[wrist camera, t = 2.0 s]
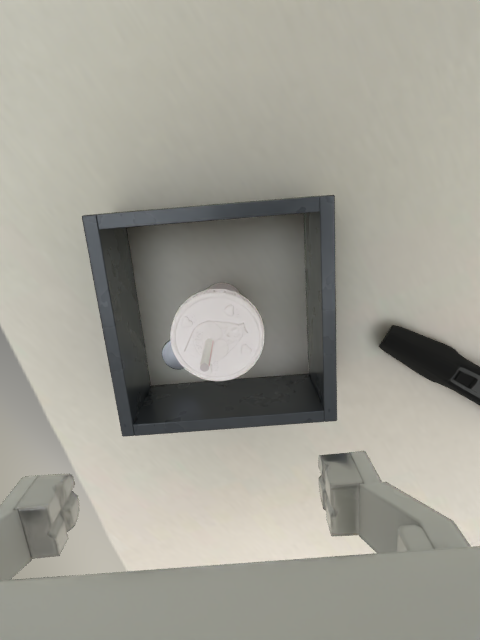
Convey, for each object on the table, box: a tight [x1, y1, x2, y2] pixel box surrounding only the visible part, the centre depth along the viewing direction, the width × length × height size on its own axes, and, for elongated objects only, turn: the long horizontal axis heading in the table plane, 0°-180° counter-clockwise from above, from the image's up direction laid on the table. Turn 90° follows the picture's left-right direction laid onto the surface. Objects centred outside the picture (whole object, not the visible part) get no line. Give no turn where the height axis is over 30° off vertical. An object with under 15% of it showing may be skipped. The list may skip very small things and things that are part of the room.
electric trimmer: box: [379, 325, 480, 405], centre depth 36 cm, size 4×16×3 cm, turn 62°
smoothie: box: [170, 283, 264, 381], centre depth 29 cm, size 6×6×14 cm
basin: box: [82, 195, 337, 436], centre depth 33 cm, size 17×17×7 cm
